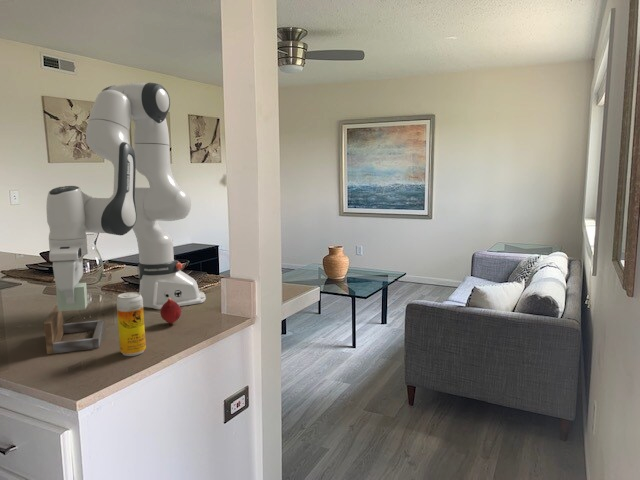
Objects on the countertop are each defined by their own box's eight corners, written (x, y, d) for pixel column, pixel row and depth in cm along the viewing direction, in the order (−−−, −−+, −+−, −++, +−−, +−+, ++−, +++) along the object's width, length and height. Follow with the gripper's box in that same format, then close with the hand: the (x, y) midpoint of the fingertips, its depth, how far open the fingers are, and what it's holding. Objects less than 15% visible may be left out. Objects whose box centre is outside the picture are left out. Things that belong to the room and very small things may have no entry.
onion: (185, 321, 145) (184, 296, 144) (173, 328, 140) (172, 301, 139) (169, 319, 147) (167, 294, 146) (157, 326, 142) (155, 299, 141)
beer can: (130, 358, 119) (126, 299, 116) (115, 353, 122) (110, 296, 119) (151, 350, 124) (147, 293, 121) (135, 345, 127) (131, 290, 124)
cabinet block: (87, 304, 133) (85, 277, 131) (85, 309, 128) (83, 281, 127) (61, 306, 130) (58, 279, 129) (57, 311, 126) (55, 283, 125)
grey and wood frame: (104, 327, 141) (102, 301, 139) (99, 347, 126) (96, 318, 124) (58, 332, 137) (55, 305, 135) (47, 354, 122) (43, 323, 120)
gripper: (62, 243, 136) (65, 291, 138) (47, 255, 116) (52, 311, 118) (87, 242, 138) (90, 289, 140) (76, 254, 118) (80, 309, 120)
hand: (72, 300), depth 129 cm, fingers closed on cabinet block, 5 cm apart
